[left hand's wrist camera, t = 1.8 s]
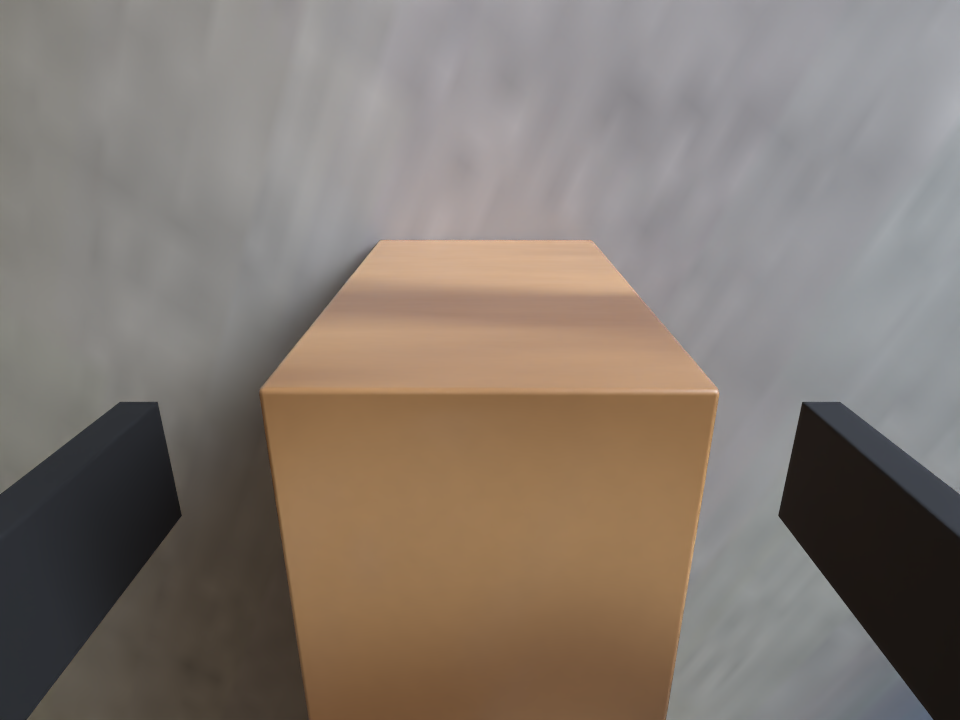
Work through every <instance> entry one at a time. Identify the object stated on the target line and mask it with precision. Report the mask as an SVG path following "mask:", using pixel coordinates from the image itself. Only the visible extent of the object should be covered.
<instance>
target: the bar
mask: <svg viewBox="0 0 960 720" xmlns="http://www.w3.org/2000/svg"><path fill="white" fill-rule="evenodd" d="M259 396H260V403H261V409H262V416H263V422H264V429H265V436H266V442H267V449H268V455H269V462H270V469H271V475H272V482H273V488H274V495H275V502H276V508H277V515H278V521H279V528H280V535H281V541H282V548H283V554H284V561H285V568H286V574H287V581H288V587H289V594H290V601H291V607H292V614H293V620H294V627H295V634H296V640H297V647H298V653H299V660H300V667H301V673H302V680H303V686H304V693H305V700H306V706H307V713H308V719H309V720H666V715H667V709H668V703H669V697H670V691H671V685H672V679H673V673H674V667H675V661H676V654H677V648H678V642H679V636H680V630H681V624H682V618H683V612H684V606H685V600H686V594H687V587H688V581H689V575H690V569H691V563H692V557H693V551H694V545H695V539H696V533H697V527H698V520H699V514H700V508H701V502H702V496H703V490H704V484H705V478H706V472H707V466H708V459H709V453H710V447H711V441H712V435H713V429H714V423H715V417H716V411H717V405H718V399H719V391H718V388H717V387H716V386H715V385H714V384H713V383H712V381H711V380H710V379H709V378H708V377H707V375H706V374H705V373H704V372H703V371H702V370H701V368H700V367H699V366H698V365H697V364H696V363H695V361H694V360H693V359H692V358H691V357H690V355H689V354H688V353H687V352H686V351H685V350H684V348H683V347H682V346H681V345H680V344H679V342H678V341H677V340H676V339H675V338H674V337H673V335H672V334H671V333H670V332H669V331H668V330H667V328H666V327H665V326H664V325H663V324H662V322H661V321H660V320H659V319H658V318H657V317H656V315H655V314H654V313H653V312H652V311H651V309H650V308H649V307H648V306H647V305H646V304H645V302H644V301H643V300H642V299H641V298H640V297H639V295H638V294H637V293H636V292H635V291H634V289H633V288H632V287H631V286H630V285H629V284H628V282H627V281H626V280H625V279H624V278H623V276H622V275H621V274H620V273H619V272H618V271H617V269H616V268H615V267H614V266H613V265H612V264H611V262H610V261H609V260H608V259H607V258H606V256H605V255H604V254H603V253H602V252H601V251H600V249H599V248H598V247H597V246H596V245H595V243H594V242H593V241H591V240H380V241H379V242H378V243H377V244H376V246H375V247H374V248H373V249H372V251H371V252H370V253H369V254H368V255H367V257H366V258H365V259H364V260H363V262H362V263H361V264H360V265H359V267H358V268H357V269H356V270H355V272H354V273H353V274H352V275H351V276H350V278H349V279H348V280H347V281H346V283H345V284H344V285H343V286H342V288H341V289H340V290H339V291H338V293H337V294H336V295H335V296H334V298H333V299H332V300H331V301H330V302H329V304H328V305H327V306H326V307H325V309H324V310H323V311H322V312H321V314H320V315H319V316H318V317H317V319H316V320H315V321H314V322H313V323H312V325H311V326H310V327H309V328H308V330H307V331H306V332H305V333H304V335H303V336H302V337H301V338H300V340H299V341H298V342H297V343H296V345H295V346H294V347H293V348H292V349H291V351H290V352H289V353H288V354H287V356H286V357H285V358H284V359H283V361H282V362H281V363H280V364H279V366H278V367H277V368H276V369H275V371H274V372H273V373H272V374H271V375H270V377H269V378H268V379H267V380H266V382H265V383H264V384H263V385H262V387H261V388H260V391H259Z"/></svg>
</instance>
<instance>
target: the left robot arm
mask: <svg viewBox="0 0 960 720" xmlns="http://www.w3.org/2000/svg"><path fill="white" fill-rule="evenodd" d="M181 516H182V515H181V510H180V506H179V501H178V496H177V491H176V487H175V482H174V477H173V473H172V468H171V463H170V458H169V454H168V449H167V444H166V440H165V435H164V430H163V425H162V421H161V416H160V411H159V407H158V402H119V403H118V404H117V405H115V406H114V407H113V408H112V409H110V410H109V411H108V412H106V413H105V414H104V415H102V416H101V417H100V418H99V419H97V420H96V421H95V422H93V423H92V424H91V425H90V426H88V427H87V428H86V429H84V430H83V431H82V432H80V433H79V434H78V435H77V436H75V437H74V438H73V439H71V440H70V441H69V442H68V443H66V444H65V445H64V446H62V447H61V448H60V449H58V450H57V451H56V452H55V453H53V454H52V455H51V456H49V457H48V458H47V459H46V460H44V461H43V462H42V463H40V464H39V465H38V466H36V467H35V468H34V469H33V470H31V471H30V472H29V473H27V474H26V475H25V476H24V477H22V478H21V479H20V480H18V481H17V482H16V483H15V484H13V485H12V486H11V487H9V488H8V489H7V490H5V491H4V492H3V493H2V494H0V720H27V718H28V717H29V716H30V714H31V713H32V712H33V710H34V709H35V708H36V706H37V705H38V704H39V702H40V701H41V700H42V699H43V697H44V696H45V695H46V693H47V692H48V691H49V689H50V688H51V687H52V685H53V684H54V683H55V681H56V680H57V679H58V678H59V676H60V675H61V674H62V672H63V671H64V670H65V668H66V667H67V666H68V664H69V663H70V662H71V660H72V659H73V658H74V656H75V655H76V654H77V653H78V651H79V650H80V649H81V647H82V646H83V645H84V643H85V642H86V641H87V639H88V638H89V637H90V635H91V634H92V633H93V632H94V630H95V629H96V628H97V626H98V625H99V624H100V622H101V621H102V620H103V618H104V617H105V616H106V614H107V613H108V612H109V611H110V609H111V608H112V607H113V605H114V604H115V603H116V601H117V600H118V599H119V597H120V596H121V595H122V593H123V592H124V591H125V589H126V588H127V587H128V586H129V584H130V583H131V582H132V580H133V579H134V578H135V576H136V575H137V574H138V572H139V571H140V570H141V568H142V567H143V566H144V565H145V563H146V562H147V561H148V559H149V558H150V557H151V555H152V554H153V553H154V551H155V550H156V549H157V547H158V546H159V545H160V543H161V542H162V541H163V540H164V538H165V537H166V536H167V534H168V533H169V532H170V530H171V529H172V528H173V526H174V525H175V524H176V522H177V521H178V520H179V519H180V517H181ZM778 516H779V517H780V519H781V520H782V521H783V522H784V524H785V525H786V526H787V528H788V529H789V530H790V532H791V533H792V534H793V536H794V537H795V538H796V540H797V541H798V542H799V543H800V545H801V546H802V547H803V549H804V550H805V551H806V553H807V554H808V555H809V557H810V558H811V559H812V561H813V562H814V563H815V565H816V566H817V567H818V568H819V570H820V571H821V572H822V574H823V575H824V576H825V578H826V579H827V580H828V582H829V583H830V584H831V586H832V587H833V588H834V589H835V591H836V592H837V593H838V595H839V596H840V597H841V599H842V600H843V601H844V603H845V604H846V605H847V607H848V608H849V609H850V611H851V612H852V613H853V614H854V616H855V617H856V618H857V620H858V621H859V622H860V624H861V625H862V626H863V628H864V629H865V630H866V632H867V633H868V634H869V635H870V637H871V638H872V639H873V641H874V642H875V643H876V645H877V646H878V647H879V649H880V650H881V651H882V653H883V654H884V655H885V656H886V658H887V659H888V660H889V662H890V663H891V664H892V666H893V667H894V668H895V670H896V671H897V672H898V674H899V675H900V676H901V678H902V679H903V680H904V681H905V683H906V684H907V685H908V687H909V688H910V689H911V691H912V692H913V693H914V695H915V696H916V697H917V699H918V700H919V701H920V702H921V704H922V705H923V706H924V708H925V709H926V710H927V712H928V713H929V714H930V716H931V717H932V718H933V720H960V494H958V493H957V492H956V491H955V490H953V489H952V488H951V487H949V486H948V485H947V484H945V483H944V482H943V481H942V480H940V479H939V478H938V477H936V476H935V475H934V474H933V473H931V472H930V471H929V470H927V469H926V468H925V467H923V466H922V465H921V464H920V463H918V462H917V461H916V460H914V459H913V458H912V457H911V456H909V455H908V454H907V453H905V452H904V451H903V450H902V449H900V448H899V447H898V446H896V445H895V444H894V443H892V442H891V441H890V440H889V439H887V438H886V437H885V436H883V435H882V434H881V433H880V432H878V431H877V430H876V429H874V428H873V427H872V426H870V425H869V424H868V423H867V422H865V421H864V420H863V419H861V418H860V417H859V416H858V415H856V414H855V413H854V412H852V411H851V410H850V409H848V408H847V407H846V406H845V405H843V404H842V403H841V402H802V407H801V411H800V416H799V421H798V425H797V430H796V435H795V440H794V444H793V449H792V454H791V458H790V463H789V468H788V473H787V477H786V482H785V487H784V491H783V496H782V501H781V506H780V510H779V515H778Z"/></svg>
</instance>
